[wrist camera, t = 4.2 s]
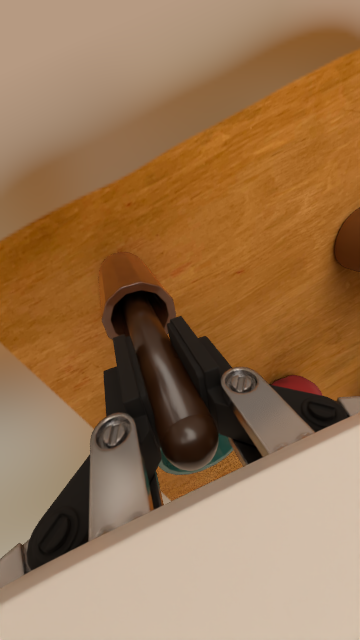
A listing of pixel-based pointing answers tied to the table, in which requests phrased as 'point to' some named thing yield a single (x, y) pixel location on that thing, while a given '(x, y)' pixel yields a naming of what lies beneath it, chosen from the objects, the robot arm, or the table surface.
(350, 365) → the table surface
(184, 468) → the stick
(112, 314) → the crock
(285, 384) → the tomato
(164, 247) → the table surface
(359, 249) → the mug
